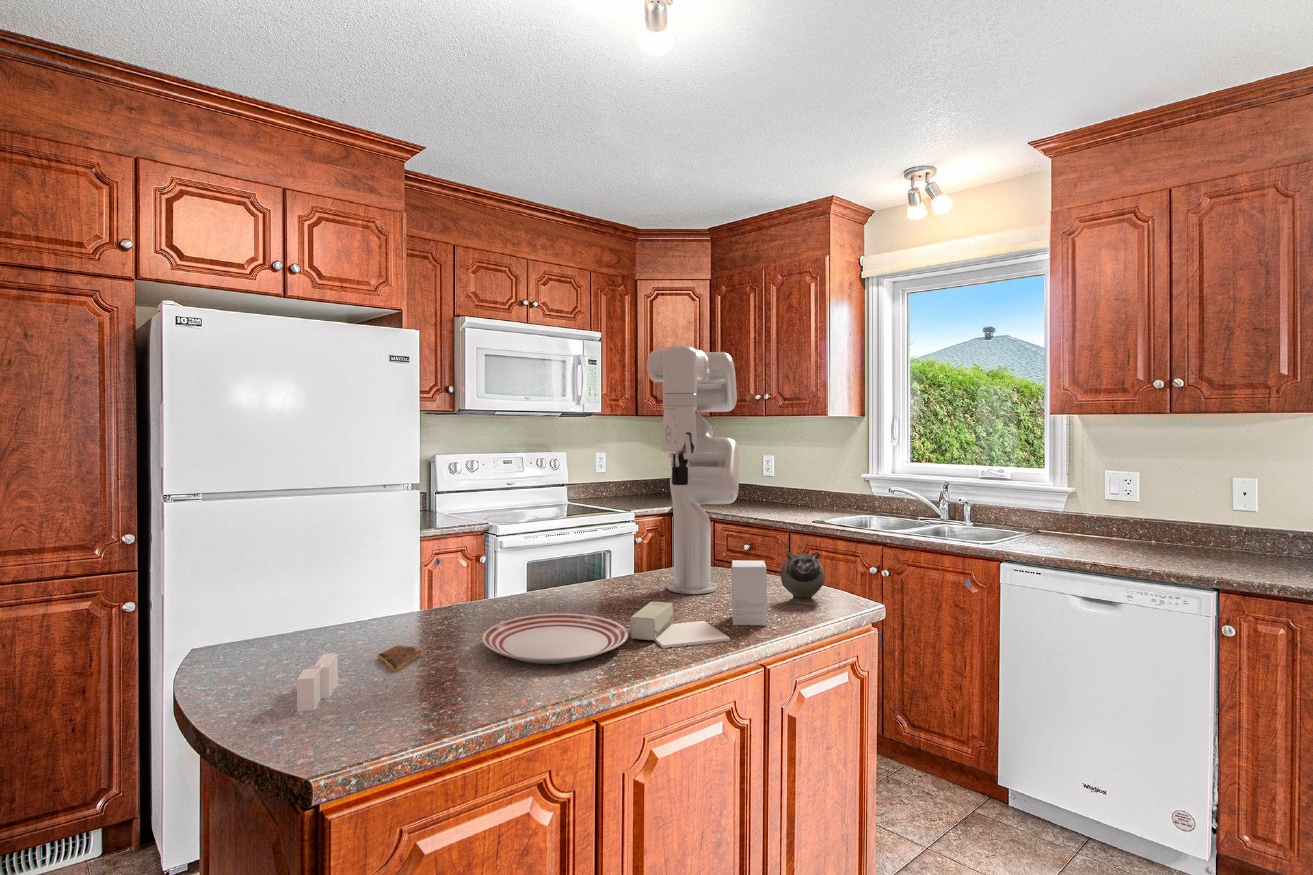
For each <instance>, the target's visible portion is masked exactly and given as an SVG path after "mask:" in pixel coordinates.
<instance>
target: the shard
mask: <svg viewBox="0 0 1313 875" xmlns="http://www.w3.org/2000/svg"><path fill="white" fill-rule="evenodd" d="M426 654H427V650H426V649H424V648H420V647H419V646H418V647H417V646H409V645H394V646H392V647H391V648H389V649H387V650H385V651H383V652H381V653H378V654H377V658H378V660H379V661H382V662H384V664H385V665H386V667H388V669H389V670H391V671H392V672H394V673H395V674H398V673H399V672H400V671H402V670H403V669H404V668H406V667H407V666H408V665H410V664H412V663H413V662H415V661H416V660H418V659H420V658H422V657H423V656H425V655H426Z"/></svg>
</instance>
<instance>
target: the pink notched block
mask: <svg viewBox="0 0 1313 875" xmlns="http://www.w3.org/2000/svg"><path fill="white" fill-rule="evenodd" d="M338 658H339V653H327V654H321V655H320V656H319V659H318V660H317V661H316V663H315V664H314V666H313V667H312V668H304V669H303V671H302V672H301V673H300V675H299V676H298V677H297V679H296V702H297V703H296V710H297V711H296V712H298V713H299V712H310V711H315V710H316V708H317V707H318V705H319V703H320V702H321V700H324V699H330V697H331V696H332V694H333V692H334V690H335V689H336V687H337V686H338V684H339V659H338Z"/></svg>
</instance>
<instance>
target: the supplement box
mask: <svg viewBox="0 0 1313 875" xmlns="http://www.w3.org/2000/svg"><path fill="white" fill-rule="evenodd" d="M767 578H768V574H767V565H766V562H765V560H737V559H736V560H734V559H733V560H731V615H732V616H731V617H732V626H767V625H768V617H767V614H768V613H767V612H768V611H767V610H768V609H767V608H768V607H767V606H768V604H767V601H768V599H767V597H768V594H767V593H768V590H767V588H768V587H767V584H768V581H767Z"/></svg>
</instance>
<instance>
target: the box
mask: <svg viewBox="0 0 1313 875" xmlns="http://www.w3.org/2000/svg"><path fill="white" fill-rule="evenodd" d="M673 608H674V607H673V603H671V602H663V601H650V602H648V603H647V604H646V605H644V606H643V607H642V608H640V610H638V611H636V612H635V613H634V614H633V615H632V616H630V618H629V620H630V621H629V625H630V638H631V639H634V640H645V641H654V640H655V639H656V638H657V637H658V636H659V635H660V634H661V633H662V632H663V631H664V630H665V629H667V628H668V627H669V626H670V625H671V624H674V609H673Z"/></svg>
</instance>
